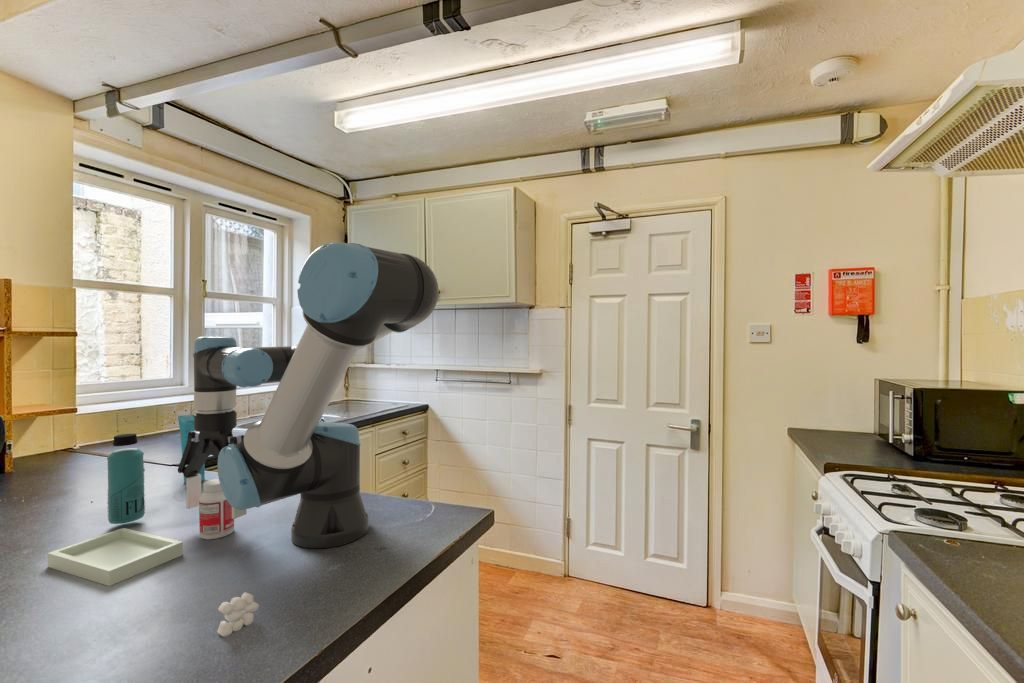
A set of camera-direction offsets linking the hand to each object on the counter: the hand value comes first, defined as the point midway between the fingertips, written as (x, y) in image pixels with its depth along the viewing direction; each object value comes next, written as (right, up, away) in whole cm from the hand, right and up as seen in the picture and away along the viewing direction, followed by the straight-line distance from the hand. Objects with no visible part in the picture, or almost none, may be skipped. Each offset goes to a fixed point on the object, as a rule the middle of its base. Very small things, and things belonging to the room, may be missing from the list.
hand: (215, 511), depth 99 cm
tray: (-11, -5, -12) cm, 17 cm away
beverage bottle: (-22, -5, +5) cm, 23 cm away
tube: (-29, -5, +36) cm, 47 cm away
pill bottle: (0, -5, 0) cm, 5 cm away
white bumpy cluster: (+23, -5, -32) cm, 40 cm away
